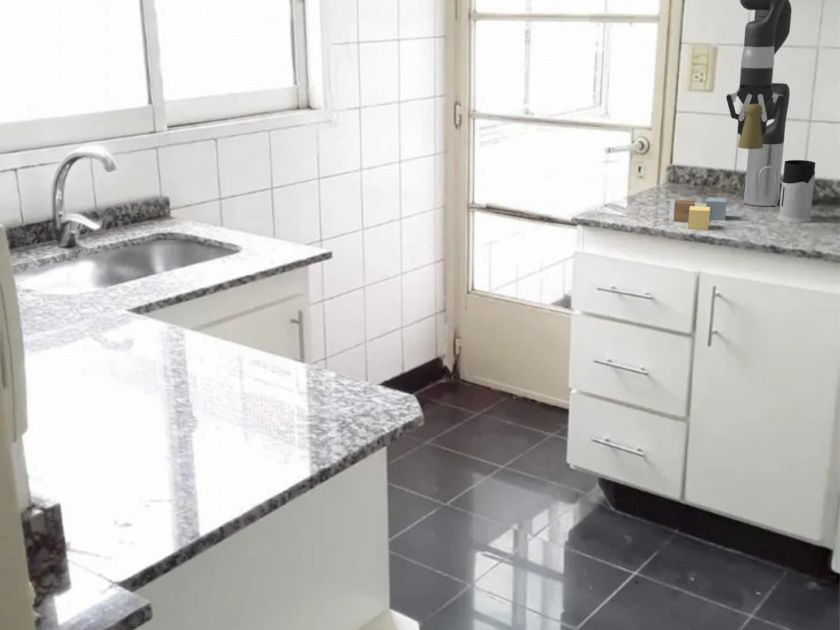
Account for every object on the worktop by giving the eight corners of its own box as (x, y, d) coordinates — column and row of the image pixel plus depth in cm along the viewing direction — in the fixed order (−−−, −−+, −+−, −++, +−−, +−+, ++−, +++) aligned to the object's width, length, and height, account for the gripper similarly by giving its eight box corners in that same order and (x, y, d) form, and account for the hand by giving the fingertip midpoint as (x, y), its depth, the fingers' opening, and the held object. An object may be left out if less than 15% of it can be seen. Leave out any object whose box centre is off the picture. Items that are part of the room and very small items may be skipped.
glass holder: (814, 223, 258) (820, 165, 253) (756, 221, 261) (761, 164, 256) (809, 216, 266) (815, 159, 261) (753, 214, 269) (758, 158, 264)
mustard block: (688, 224, 259) (690, 205, 257) (708, 226, 258) (710, 206, 256) (687, 229, 254) (689, 209, 253) (708, 230, 253) (709, 210, 251)
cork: (760, 145, 252) (764, 100, 248) (765, 148, 246) (769, 103, 243) (735, 145, 252) (739, 101, 249) (740, 149, 247) (744, 103, 243)
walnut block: (674, 217, 267) (675, 199, 266) (693, 218, 266) (695, 200, 264) (673, 221, 263) (674, 202, 261) (693, 222, 261) (694, 203, 260)
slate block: (705, 215, 269) (707, 197, 267) (725, 216, 267) (726, 198, 266) (705, 219, 264) (706, 201, 263) (725, 220, 263) (726, 202, 261)
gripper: (787, 64, 245) (780, 134, 250) (726, 64, 248) (721, 133, 254) (788, 66, 238) (782, 139, 243) (726, 66, 242) (721, 137, 247)
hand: (751, 135), depth 248 cm, fingers closed on cork, 4 cm apart
